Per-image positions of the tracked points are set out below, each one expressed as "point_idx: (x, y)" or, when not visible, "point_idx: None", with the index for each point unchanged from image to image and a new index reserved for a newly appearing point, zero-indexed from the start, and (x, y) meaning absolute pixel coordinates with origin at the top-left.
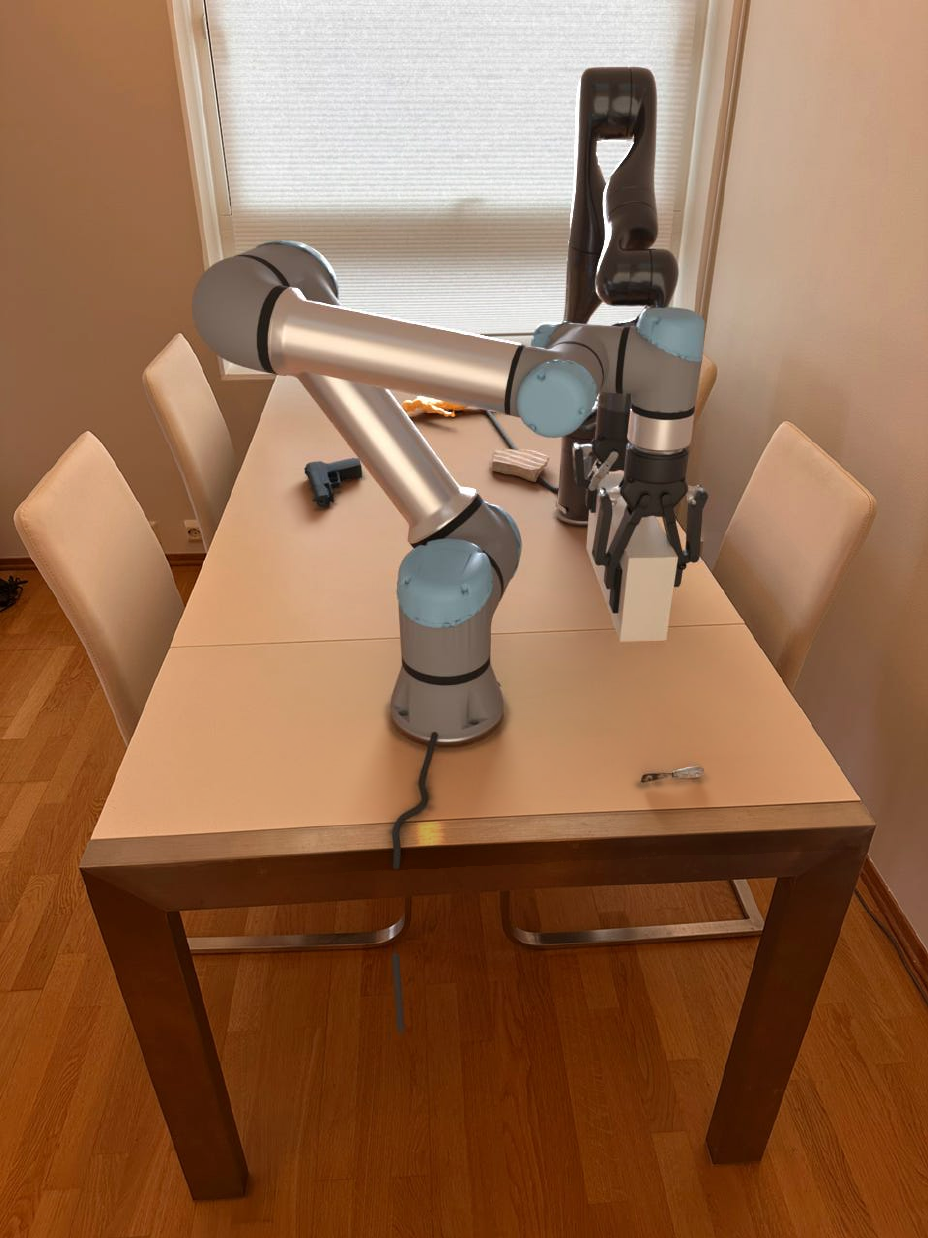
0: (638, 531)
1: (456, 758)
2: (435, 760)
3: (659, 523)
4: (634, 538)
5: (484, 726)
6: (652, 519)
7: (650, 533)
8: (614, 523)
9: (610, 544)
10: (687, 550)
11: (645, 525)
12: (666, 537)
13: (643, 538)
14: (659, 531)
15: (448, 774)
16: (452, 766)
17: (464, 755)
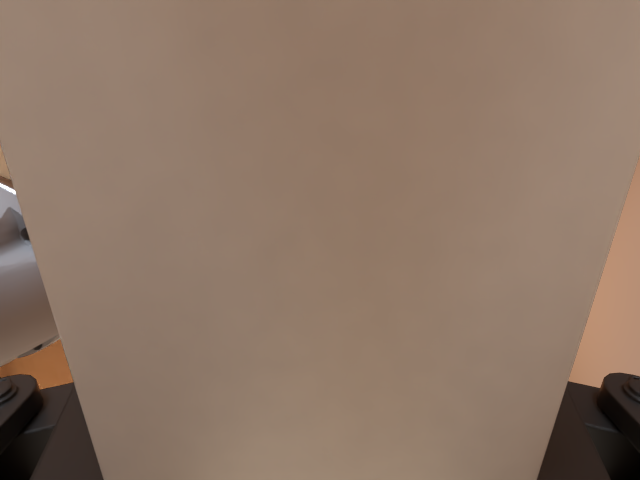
0: (297, 347)
1: (42, 358)
2: (14, 360)
3: (634, 160)
4: (230, 470)
5: (57, 339)
6: (605, 2)
7: (413, 390)
8: (2, 127)
9: (42, 455)
10: (615, 450)
11: (422, 209)
12: (534, 461)
13: (314, 473)
14: (525, 356)
15: (39, 383)
16: (41, 371)
17: (52, 353)
